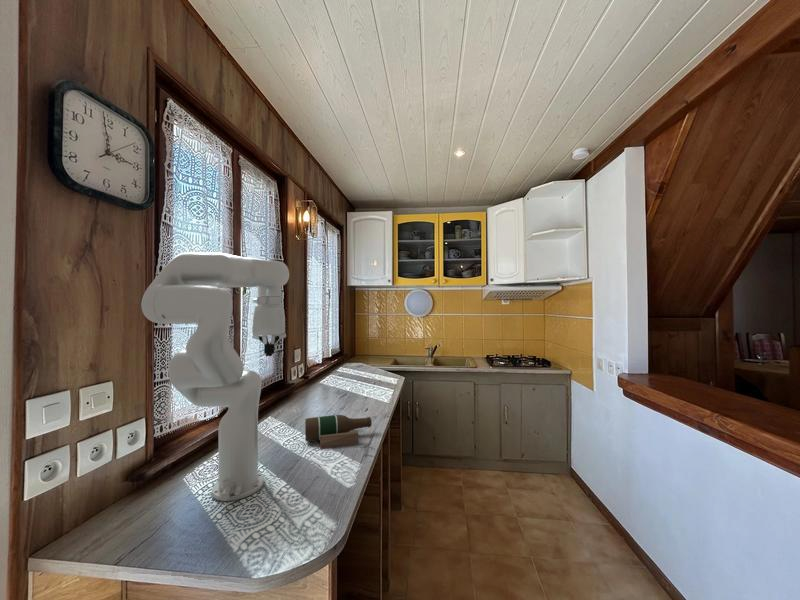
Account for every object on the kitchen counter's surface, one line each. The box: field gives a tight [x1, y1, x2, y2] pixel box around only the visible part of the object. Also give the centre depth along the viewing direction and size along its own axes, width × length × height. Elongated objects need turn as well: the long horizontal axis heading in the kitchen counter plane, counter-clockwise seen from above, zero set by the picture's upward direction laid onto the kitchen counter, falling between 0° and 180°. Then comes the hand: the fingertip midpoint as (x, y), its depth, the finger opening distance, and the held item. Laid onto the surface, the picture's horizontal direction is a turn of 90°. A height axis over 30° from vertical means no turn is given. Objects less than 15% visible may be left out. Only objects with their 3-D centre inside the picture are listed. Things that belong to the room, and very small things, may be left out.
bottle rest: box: [319, 429, 359, 450], centre depth 118 cm, size 14×13×4 cm
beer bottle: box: [304, 414, 373, 442], centre depth 118 cm, size 8×8×24 cm
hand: (269, 355), depth 109 cm, fingers closed
